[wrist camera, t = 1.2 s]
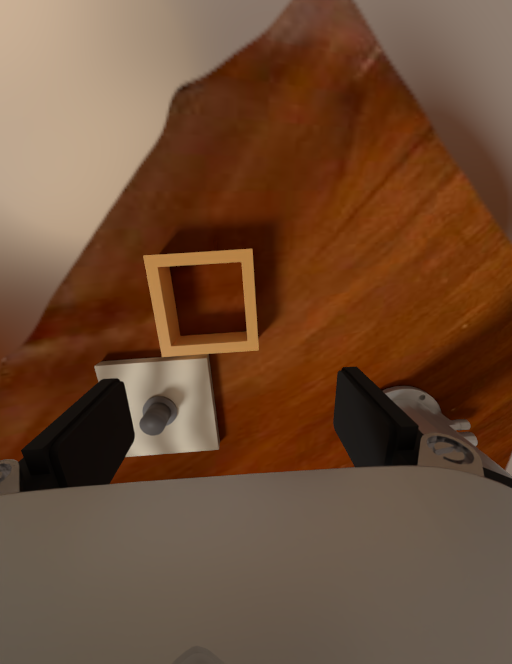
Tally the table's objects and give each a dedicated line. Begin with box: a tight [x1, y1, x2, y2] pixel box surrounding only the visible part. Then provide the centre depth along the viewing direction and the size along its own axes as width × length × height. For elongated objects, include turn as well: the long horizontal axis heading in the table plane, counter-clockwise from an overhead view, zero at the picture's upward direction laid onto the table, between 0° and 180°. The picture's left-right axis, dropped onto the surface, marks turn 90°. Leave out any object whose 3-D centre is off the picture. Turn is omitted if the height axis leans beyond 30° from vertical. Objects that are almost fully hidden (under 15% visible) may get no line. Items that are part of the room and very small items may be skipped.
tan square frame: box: [143, 249, 259, 357], centre depth 28 cm, size 11×11×4 cm
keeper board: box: [94, 354, 220, 457], centre depth 31 cm, size 14×14×4 cm
